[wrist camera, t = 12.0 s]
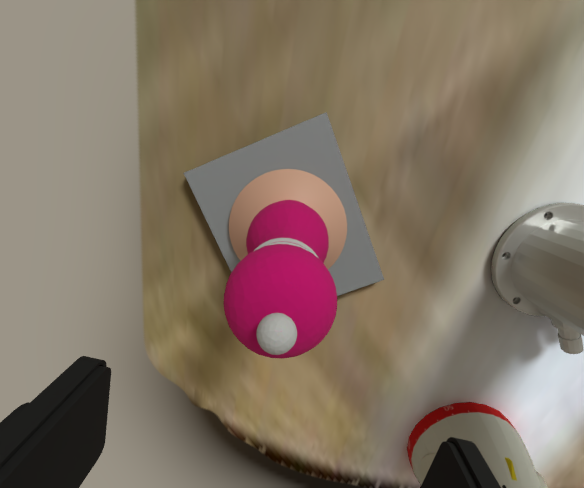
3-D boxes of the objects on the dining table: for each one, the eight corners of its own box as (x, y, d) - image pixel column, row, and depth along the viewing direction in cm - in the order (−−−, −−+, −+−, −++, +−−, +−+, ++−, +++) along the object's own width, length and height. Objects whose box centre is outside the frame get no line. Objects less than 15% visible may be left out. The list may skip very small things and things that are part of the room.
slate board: (380, 274, 36) (385, 281, 34) (257, 317, 37) (255, 327, 35) (325, 114, 31) (327, 111, 29) (188, 172, 33) (181, 173, 31)
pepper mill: (278, 275, 34) (251, 440, 14) (239, 218, 32) (151, 318, 13) (337, 241, 32) (395, 370, 13) (300, 180, 31) (305, 226, 12)
